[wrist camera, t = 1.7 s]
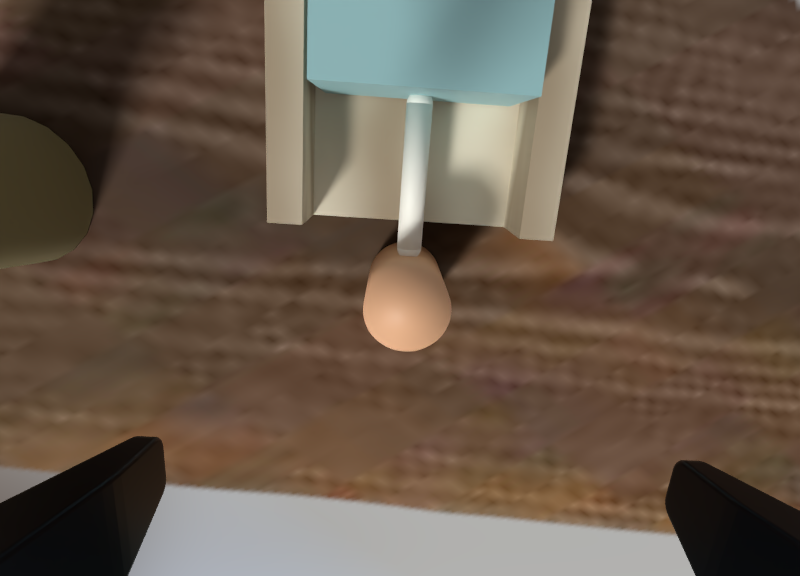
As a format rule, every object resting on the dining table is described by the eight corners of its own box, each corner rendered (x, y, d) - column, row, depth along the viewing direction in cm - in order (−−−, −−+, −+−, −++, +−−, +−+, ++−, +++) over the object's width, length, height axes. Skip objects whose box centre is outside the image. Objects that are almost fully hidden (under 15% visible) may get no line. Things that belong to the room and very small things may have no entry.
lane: (566, -51, 17) (607, -97, 14) (526, 224, 20) (553, 241, 17) (288, -74, 17) (262, -127, 14) (288, 209, 20) (267, 222, 17)
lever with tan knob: (518, -9, 17) (564, -64, 13) (479, 313, 21) (503, 362, 16) (331, -25, 17) (308, -86, 13) (324, 304, 21) (304, 351, 16)
